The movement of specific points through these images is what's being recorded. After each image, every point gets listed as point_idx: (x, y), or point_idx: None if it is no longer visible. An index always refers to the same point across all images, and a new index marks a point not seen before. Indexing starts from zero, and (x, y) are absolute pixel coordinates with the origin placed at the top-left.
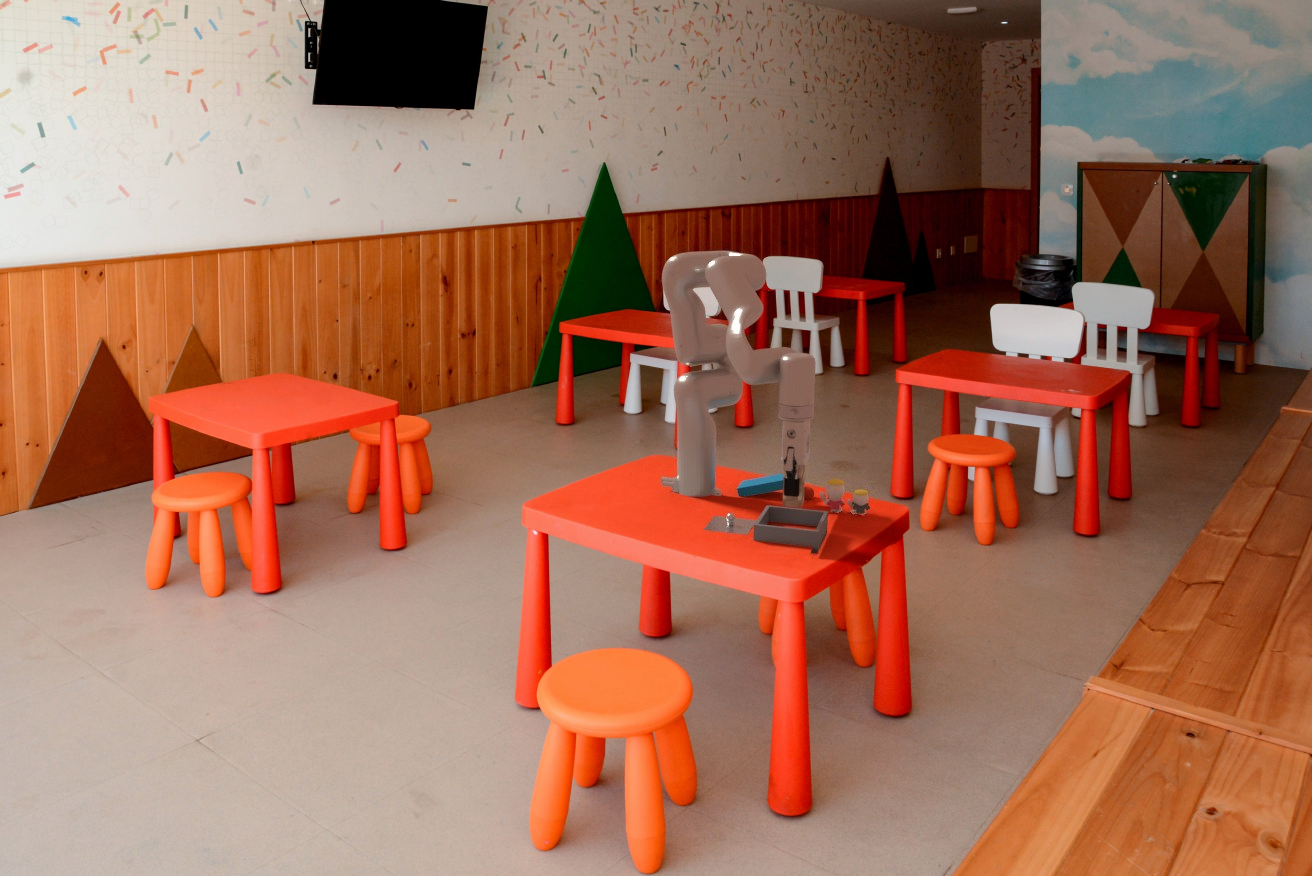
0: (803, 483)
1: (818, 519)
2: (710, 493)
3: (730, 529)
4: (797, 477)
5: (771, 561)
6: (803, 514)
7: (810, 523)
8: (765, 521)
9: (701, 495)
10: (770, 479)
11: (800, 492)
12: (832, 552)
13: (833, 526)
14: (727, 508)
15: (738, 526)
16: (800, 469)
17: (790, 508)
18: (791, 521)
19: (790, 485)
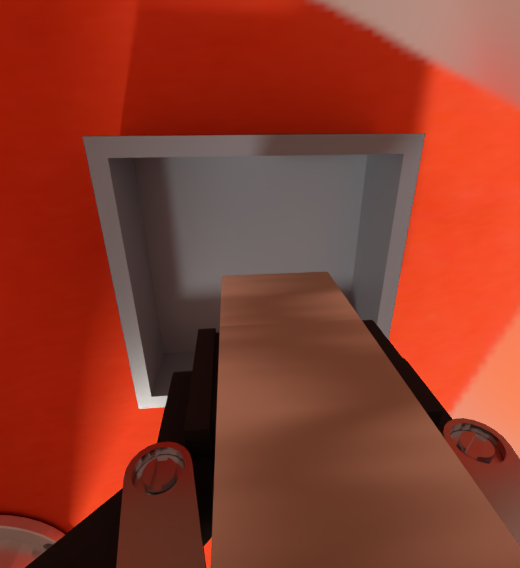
0: (273, 349)
1: (124, 182)
2: (5, 548)
3: None
4: (470, 438)
5: (461, 269)
6: (133, 257)
7: (136, 214)
8: None
9: (37, 556)
10: None
11: (359, 322)
12: (347, 72)
13: (23, 120)
14: (55, 477)
15: None
16: (476, 508)
17: (133, 322)
18: (149, 289)
19: None
